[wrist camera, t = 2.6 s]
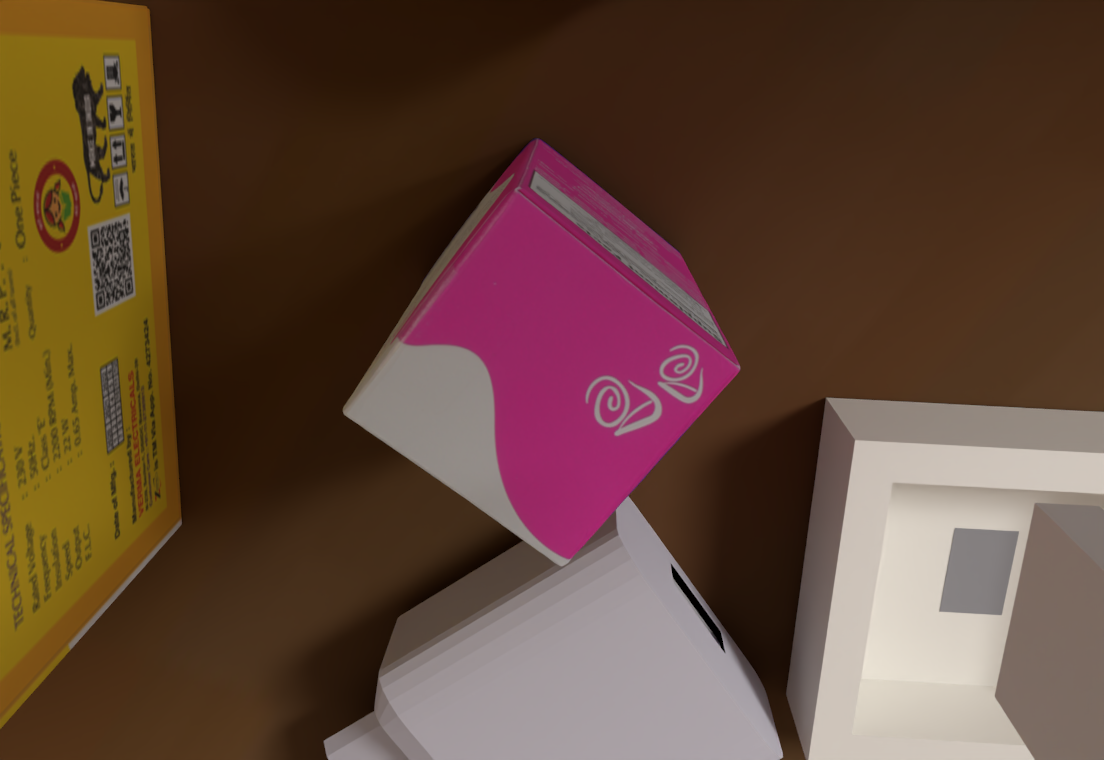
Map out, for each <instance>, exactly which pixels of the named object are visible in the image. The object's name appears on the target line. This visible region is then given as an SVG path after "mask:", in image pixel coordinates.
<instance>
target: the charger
mask: <svg viewBox="0 0 1104 760" xmlns="http://www.w3.org/2000/svg"><path fill="white" fill-rule="evenodd" d="M671 564H672V565H673V567H674V568H675V569H676V571H677V572H678V574H679V575H680V576H681V578H682V579H683V580H684V582H685V583H686V585H687V586H688V587H689V589H690V590H691V591H692V593H693V594H694V596H695V597H696V598H697V600H698V601H699V602H700V604H701V605H702V607H703V608H704V609H705V611H706V612H707V614H708V615H709V616H710V618H711V619H712V620H713V622H714V623H715V625H716V626H717V627H718V629H719V630H720V631H721V635H722V640H723V644H724V649H725V653H726V654H725V653H724V651H723V650H722V649H721V647H720V642H719V641H718V639H717V638H716V636H715V635H714V634H713V632H712V631H711V630H710V628H709V627H708V625H707V624H706V623H705V621H704V620H703V619H702V617H701V616H700V615H699V613H698V612H697V610H696V609H695V608H694V606H693V605H692V604H691V602H690V601H689V599H688V598H687V597H686V595H685V594H684V593H683V591H682V590H681V588H680V587H679V586H678V584H677V583H676V582H675V580H674V579H673V576H672V569H671ZM324 745H325V750H326V755H327V758H328V760H779V759H781V758H783V753H782V749H781V745H780V742H779V738H778V734H777V731H776V727H775V723H774V720H773V716H772V712H771V709H770V705H769V701H768V698H767V694H766V691H765V689H764V687H763V685H762V683H761V681H760V679H759V677H758V675H757V674H756V672H755V670H754V669H753V667H752V666H751V665H750V663H749V662H748V660H747V659H746V657H745V656H744V655H743V653H742V652H741V650H740V649H739V648H738V646H737V645H736V643H735V642H734V641H733V639H732V638H731V637H730V635H729V634H728V632H727V631H726V630H725V628H724V627H723V626H722V624H721V623H720V621H719V620H718V619H717V617H716V616H715V614H714V613H713V612H712V610H711V609H710V608H709V606H708V605H707V603H706V602H705V601H704V599H703V598H702V597H701V595H700V594H699V592H698V591H697V590H696V588H695V587H694V585H693V584H692V583H691V581H690V580H689V579H688V577H687V576H686V574H685V573H684V572H683V570H682V569H681V568H680V566H679V565H678V563H677V562H676V561H675V559H674V558H673V557H672V555H671V554H670V552H669V551H668V550H667V548H666V547H665V545H664V544H663V543H662V541H661V540H660V539H659V537H658V536H657V534H656V533H655V532H654V530H653V529H652V528H651V526H650V525H649V523H648V522H647V521H646V519H645V518H644V517H643V515H642V514H641V512H640V511H639V510H638V508H637V507H636V506H635V504H634V503H633V502H632V500H631V499H630V498H629V496H628V497H627V498H626V499H625V500H624V501H623V502H622V503H621V504H620V506H619V507H618V508H617V509H616V510H615V511H614V512H613V513H612V514H611V516H610V517H609V518H608V519H607V520H606V521H605V522H604V523H603V525H602V526H601V527H600V528H599V529H598V530H597V531H596V532H595V534H594V535H593V536H592V537H591V538H590V539H589V540H588V541H587V542H586V544H585V545H584V546H583V547H582V548H581V549H580V550H579V551H578V552H577V553H576V554H575V555H574V556H573V558H572V559H571V560H570V561H569V563H567V564H566V565H564V566H559V565H557V564H555V563H554V562H553V561H551V560H550V559H549V558H548V557H546V556H545V555H544V554H542V553H540V552H539V551H537V550H536V549H535V548H533V547H532V546H531V545H529V544H528V543H526V542H525V541H524V540H523V541H522V542H520V543H518V544H517V545H515V546H514V547H512V548H510V549H509V550H507V551H505V552H504V553H502V554H500V555H499V556H497V557H496V558H494V559H492V560H491V561H489V562H487V563H486V564H484V565H482V566H481V567H479V568H478V569H476V570H474V571H473V572H471V573H469V574H468V575H466V576H464V577H463V578H461V579H460V580H458V581H456V582H455V583H453V584H451V585H450V586H448V587H446V588H445V589H443V590H442V591H440V592H438V593H437V594H435V595H433V596H432V597H430V598H428V599H427V600H425V601H424V602H422V603H420V604H419V605H417V606H415V607H414V608H412V609H410V610H409V611H407V612H406V613H404V614H402V615H401V616H399V617H398V619H397V621H396V624H395V627H394V630H393V633H392V636H391V639H390V641H389V644H388V647H387V650H386V653H385V656H384V658H383V661H382V664H381V667H380V670H379V675H378V683H377V690H376V698H375V706H374V711H373V712H372V713H370V714H368V715H367V716H365V717H363V718H362V719H360V720H358V721H356V722H355V723H353V724H351V725H350V726H348V727H346V728H345V729H343V730H341V731H339V732H338V733H336V734H334V735H333V736H331V737H329V738H328V739H326V740H324Z"/></svg>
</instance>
